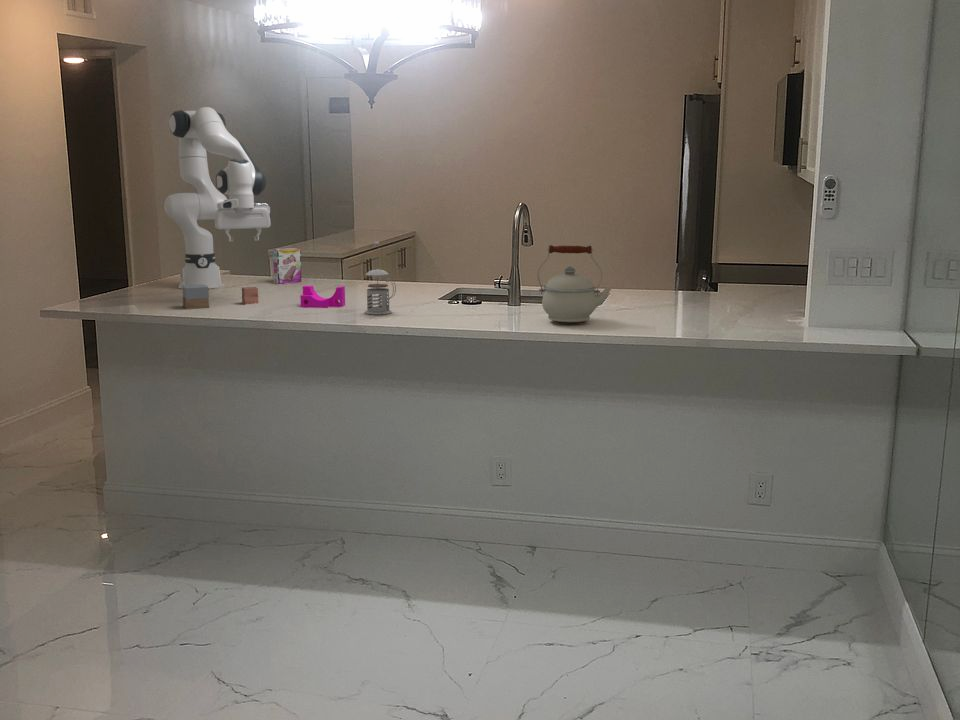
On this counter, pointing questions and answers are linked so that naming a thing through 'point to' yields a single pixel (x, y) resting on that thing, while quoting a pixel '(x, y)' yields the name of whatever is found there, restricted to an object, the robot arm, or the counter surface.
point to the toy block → (315, 300)
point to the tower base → (196, 303)
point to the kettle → (571, 291)
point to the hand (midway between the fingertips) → (243, 241)
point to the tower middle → (195, 291)
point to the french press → (378, 290)
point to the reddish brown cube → (249, 295)
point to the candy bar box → (287, 265)
